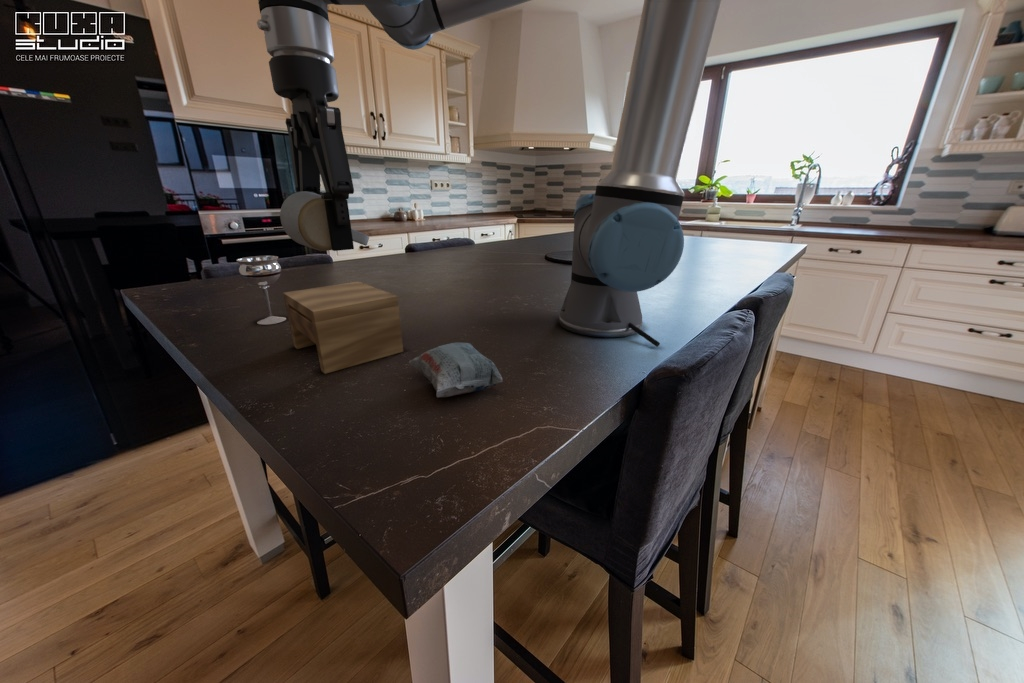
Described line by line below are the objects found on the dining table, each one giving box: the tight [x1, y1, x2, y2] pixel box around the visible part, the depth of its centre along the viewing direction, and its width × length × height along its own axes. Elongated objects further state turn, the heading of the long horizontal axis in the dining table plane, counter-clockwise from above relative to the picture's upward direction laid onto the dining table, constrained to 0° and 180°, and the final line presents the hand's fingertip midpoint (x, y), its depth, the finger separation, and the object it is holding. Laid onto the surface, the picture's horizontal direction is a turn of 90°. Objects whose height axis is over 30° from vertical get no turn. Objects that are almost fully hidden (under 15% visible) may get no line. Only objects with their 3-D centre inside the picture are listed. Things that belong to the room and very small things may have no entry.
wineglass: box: [236, 255, 287, 325], centre depth 75 cm, size 7×7×12 cm
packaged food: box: [408, 341, 504, 398], centre depth 51 cm, size 9×12×5 cm
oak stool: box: [282, 281, 404, 375], centre depth 62 cm, size 14×12×9 cm
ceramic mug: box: [279, 191, 370, 252], centre depth 56 cm, size 11×8×8 cm
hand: (331, 246), depth 57 cm, fingers closed on ceramic mug, 8 cm apart
